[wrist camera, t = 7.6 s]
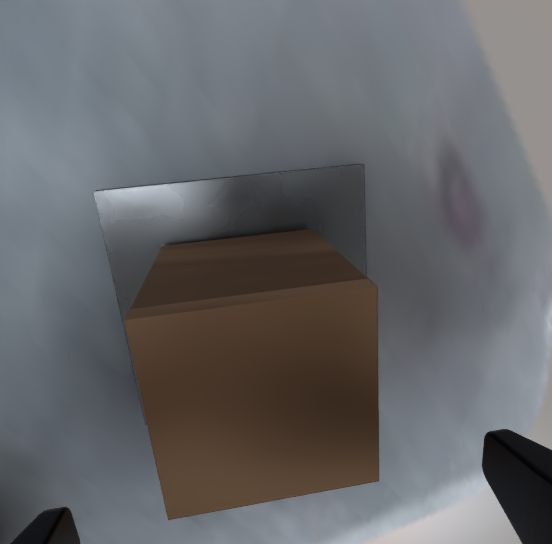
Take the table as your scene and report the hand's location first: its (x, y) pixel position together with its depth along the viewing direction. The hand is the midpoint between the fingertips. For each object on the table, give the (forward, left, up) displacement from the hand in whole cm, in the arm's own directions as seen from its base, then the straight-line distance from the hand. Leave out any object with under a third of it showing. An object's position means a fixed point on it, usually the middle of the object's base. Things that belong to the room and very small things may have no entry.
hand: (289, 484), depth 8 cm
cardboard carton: (0, 0, -9) cm, 9 cm away
